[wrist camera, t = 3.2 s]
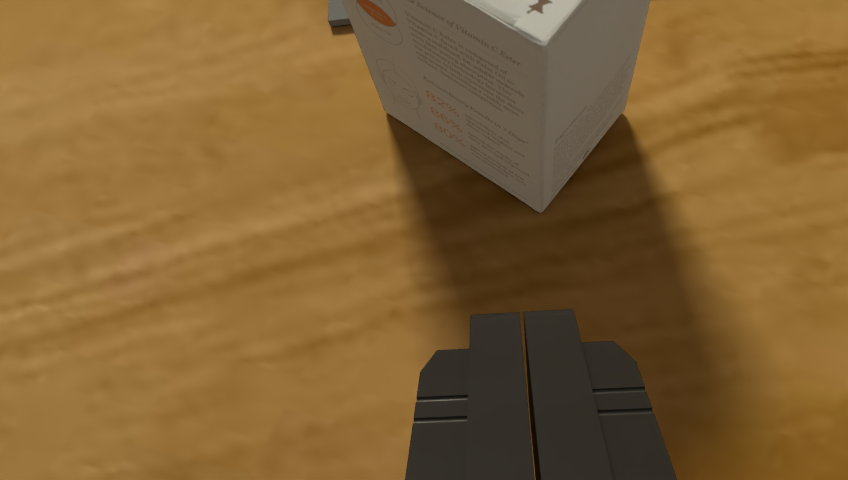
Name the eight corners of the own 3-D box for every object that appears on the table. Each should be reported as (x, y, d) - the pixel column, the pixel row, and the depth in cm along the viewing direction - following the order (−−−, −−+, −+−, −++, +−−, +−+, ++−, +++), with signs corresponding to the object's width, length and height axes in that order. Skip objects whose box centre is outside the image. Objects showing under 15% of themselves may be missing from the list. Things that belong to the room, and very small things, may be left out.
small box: (627, 111, 26) (688, -112, 17) (540, 220, 25) (550, 50, 16) (464, 16, 29) (435, -225, 19) (379, 112, 28) (302, -93, 18)
